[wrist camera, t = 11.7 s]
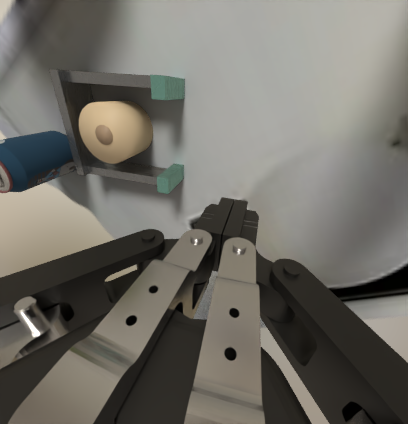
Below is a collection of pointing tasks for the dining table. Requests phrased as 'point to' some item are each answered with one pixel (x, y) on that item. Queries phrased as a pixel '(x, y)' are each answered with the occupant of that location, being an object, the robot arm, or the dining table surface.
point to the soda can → (33, 160)
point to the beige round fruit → (115, 130)
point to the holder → (81, 96)
